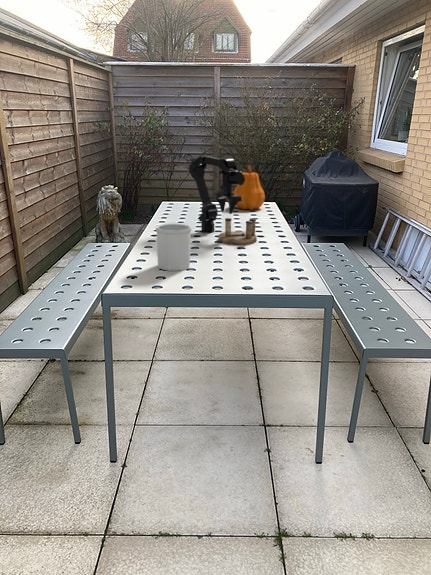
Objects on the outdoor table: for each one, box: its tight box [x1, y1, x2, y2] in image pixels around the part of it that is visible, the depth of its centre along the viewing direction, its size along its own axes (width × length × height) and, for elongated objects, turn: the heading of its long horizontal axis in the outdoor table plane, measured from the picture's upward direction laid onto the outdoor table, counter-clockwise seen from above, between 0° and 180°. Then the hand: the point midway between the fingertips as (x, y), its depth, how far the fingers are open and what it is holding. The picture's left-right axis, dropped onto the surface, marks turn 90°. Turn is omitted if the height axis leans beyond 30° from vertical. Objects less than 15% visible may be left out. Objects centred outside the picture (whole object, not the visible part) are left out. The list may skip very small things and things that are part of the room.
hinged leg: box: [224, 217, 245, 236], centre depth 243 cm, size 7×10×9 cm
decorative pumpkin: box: [233, 164, 266, 211], centre depth 332 cm, size 24×24×30 cm
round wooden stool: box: [218, 218, 258, 246], centre depth 245 cm, size 20×20×11 cm
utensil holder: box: [155, 222, 192, 272], centre depth 198 cm, size 15×15×18 cm
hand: (226, 212), depth 250 cm, fingers open, 7 cm apart
